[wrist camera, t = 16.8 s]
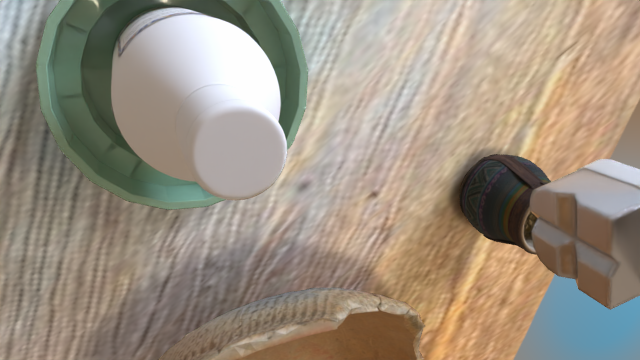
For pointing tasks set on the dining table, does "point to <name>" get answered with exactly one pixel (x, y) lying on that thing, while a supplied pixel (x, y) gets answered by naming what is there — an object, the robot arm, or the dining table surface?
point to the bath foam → (198, 101)
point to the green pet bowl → (95, 89)
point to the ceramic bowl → (308, 329)
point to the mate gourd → (502, 198)
